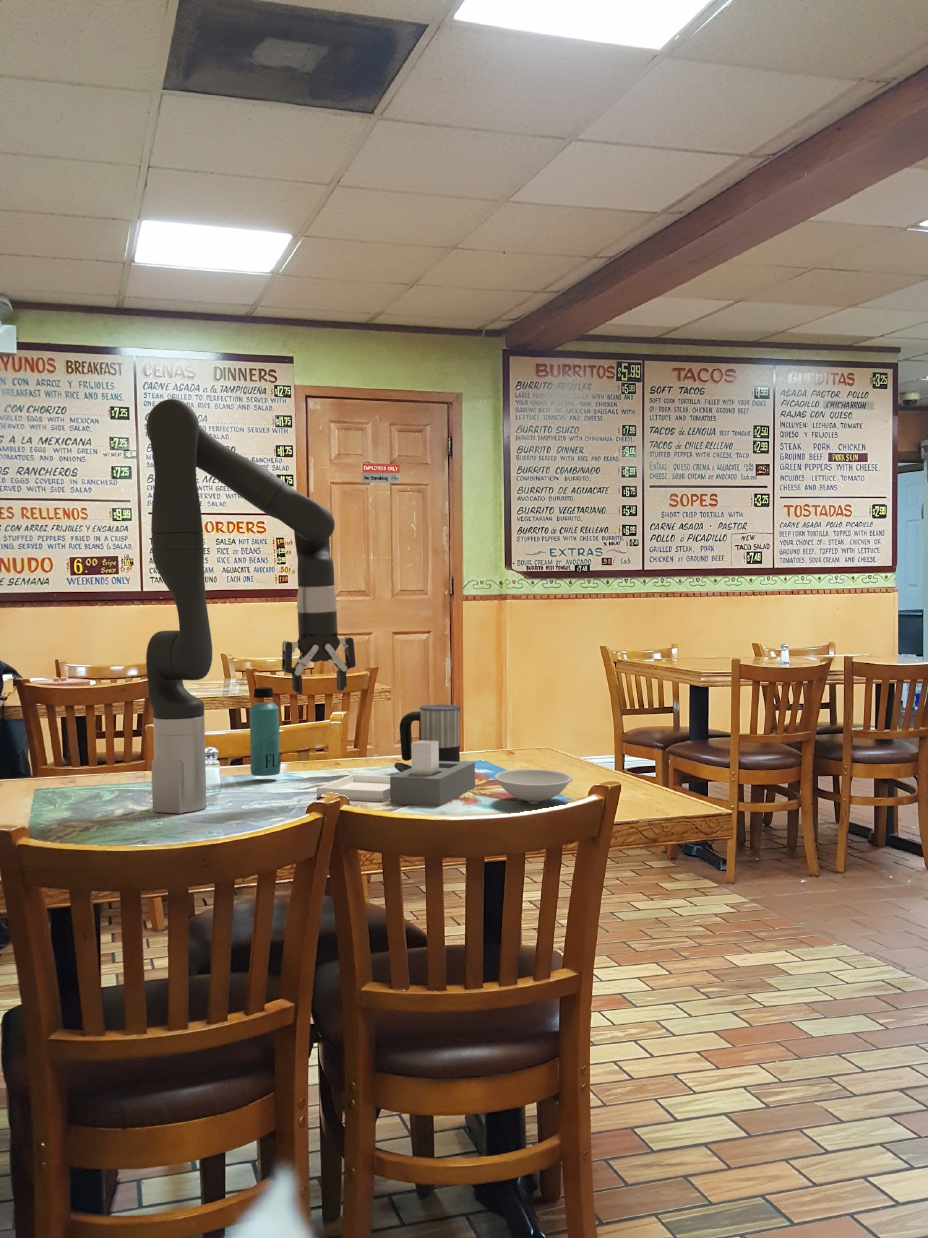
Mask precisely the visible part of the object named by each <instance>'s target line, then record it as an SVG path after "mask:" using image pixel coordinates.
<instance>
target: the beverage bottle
mask: <svg viewBox="0 0 928 1238" xmlns="http://www.w3.org/2000/svg"><path fill="white" fill-rule="evenodd" d="M253 698H255V699H267V698H274V690H273V687H269V686H261V687H255V688H254V689H253ZM279 709H280V707H279V706H278V705H276V703H274V702H256V703H253V704H252V705H251V706H250V707H249V735H250V738H249V739H250V742H249V756H250V759H249V762H250V774H251V776H255V777H269V776H276V775H277V776H278V775H279V774H280V772H281V764H282V762H281V743H280V739H281V738H280V735H281V732H280V728H281V727H280V725H281V724H280V718H279V717H280V715H279V714H280V713H279V711H280V710H279Z"/></svg>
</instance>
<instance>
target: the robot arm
mask: <svg viewBox="0 0 928 1238" xmlns="http://www.w3.org/2000/svg"><path fill="white" fill-rule="evenodd" d="M199 422H200V421H199V419H198V416H197V414H196V412H195V411H194V409H193V408H192V407H191V406H190V405H189V404H188V403H186V402H184V401H182V400H180V399H175V398H169V399H165V400H162V401H160V402H159V403H157V404H156V405H154V406H153V407H152V409H151V410H150V412H149V414H148V416H147V419H146V425H145V426H146V427H145V429H146V434H147V437H148V439H149V441H150V446H151V451H152V453H151V455H152V460H153V462H152V463H153V470H154V485H153V486H154V488H153V497H152V504H151V506H152V507H151V528H150V529H151V530H150V531H151V533H150V535H151V553H152V561H153V563H154V566H155V568H156V570H157V572H158V574H159V576H160V578H161V579H162V581H163V583H164V584H165V586H166V588H167V589H168V591H169V592H170V594H171V596H172V598H173V600H174V603H175V606H176V611H177V617H178V624H179V626H178V628H179V630H160V631H157V632H155V633H154V634H153V635H152V636H151V638H150V639H149V641H148V643H147V648H146V655H145V661H146V662H145V663H146V677H147V688H148V689H147V691H148V700H149V704H150V706H151V708H152V709H151V710H152V717H153V718H152V719H153V722H152V726H153V760H152V761H151V792H152V793H151V794H152V795H151V799H152V801H151V802H152V803H151V804H152V812H153V813H166V814H167V813H169V814H183V813H188V812H189V813H190V812H196V811H201V810H203V809H205V808H207V782H206V779H207V778H206V777H207V776H206V775H207V774H206V773H207V772H206V736H205V734H206V733H205V731H206V729H205V705H204V702H203V700H202V699H201V698H199V697H197V696H194V695H193V694H191V693H190V692H189V691H188V690H187V689H186V688H185V685H184V681H200V680H203V679H204V678H205V677H207V675H208V674H209V673H210V671H211V666H212V662H213V643H212V634H211V627H210V619H209V613H208V605H207V597H206V595H207V594H206V584H205V583H206V581H205V565H204V564H205V562H204V560H205V558H204V557H205V555H204V553H205V550H204V549H205V548H204V531H203V530H204V529H203V527H204V526H203V520H202V519H203V518H202V509H201V502H200V496H199V490H198V482H197V468H198V469H200V470H201V471H203V472H205V473H206V474H208V475H209V476H210V477H212V478H214V479H216V480H217V481H218V482H220V483H221V484H223V485H224V486H226V487H227V488H228V489H229V490H231V491H233V492H234V493H235V494H236V495H238V496H239V497H241V498H242V499H244V500H245V501H247V502H248V503H250V504H251V505H252V506H254V507H255V508H257V509H258V510H260V511H261V512H263V513H265V514H266V515H268V516H270V517H272V518H274V519H276V520H279V521H281V522H282V523H283V524H285V525H286V526H287V527H289V528H290V529H291V530H293V531H294V533H293V534H294V542H295V543H294V544H295V550H296V556H297V598H296V599H297V600H296V602H297V603H296V609H297V629H298V630H297V631H298V638H297V641H288V640H283V642H282V643H281V644H282V645H281V648H282V650H281V651H282V652H281V654H282V655H281V657H282V658H281V670H282V671H283V672H284V673H287V674H290V675H291V680H292V681H291V682H292V685H291V686H292V690H293V692H295V695H297V696H300V695H303V675H301V674H302V672H303V671H304V669H305V667H307V666H308V664H310V662H311V663H318V662H328V661H330V663H332V664H333V665H334V667H335V668H336V669H337V671H336V689H337V691H338V692H343V691H344V690H345V688H346V687H347V685H348V684H347V671H348V670H350V669H352V668H355V667H356V655H355V652H356V651H355V644H354V641H355V640H354V638H353V637H350V636H345V637H341V638H339V637H338V613H337V611H338V610H337V609H338V608H337V594H336V589H335V568H334V567H335V566H334V561H333V559H332V555H331V546H330V544H331V543H330V537H331V536H332V534H333V532H334V530H335V525H336V524H335V519H334V516H333V515H332V513H331V512H330V511H329V510H328V509H327V508H326V507H324V506H323V505H322V504H320V503H318V502H317V501H315V500H313V499H311V498H310V497H308V496H306V495H304V494H302V493H301V492H299V491H297V490H296V489H294V488H293V487H292V486H291V485H289V484H288V483H286V482H285V481H284V480H283V479H281V478H280V477H278V476H277V475H276V474H273V473H272V472H271V471H270V470H268V469H266V468H265V467H263V466H262V465H259V464H258V463H256V462H255V461H253V460H250V459H249V458H247V457H246V456H243V455H242V454H239V453H238V452H236V451H234V450H232V449H230V448H229V447H227V446H225V445H224V444H223V443H221V442H219V440H217V439H216V438H214V437H213V436H212V435H211V434H210V433H208V432H207V431H206V430H205V429H204V428H203V427H202V426H201V425H199V424H200V423H199ZM340 645H341V648H342V649H343V650H344V660H345V662H344V661H343V659H342V658H341V657H340V656H339V654H338V653H337V652H336V651H338V648H339V646H340ZM296 649H298V650H299V652H300V655H299V656H298V657H297V659H296V661H295V664H294V666H293V653H295V651H296Z"/></svg>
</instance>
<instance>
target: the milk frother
mask: <svg viewBox="0 0 928 1238" xmlns="http://www.w3.org/2000/svg"><path fill="white" fill-rule="evenodd" d="M418 708H419V710H420V711H411V712H409V713H407V714H405V715H404V716H402V718H401V720H400V722H399V737H400V738H399V740H400V751H401V759H402V760H403V761H405V762H407V761H412V754H411V743H413V738H412V737H413V736H412V735H413V734H412V723H413V722H416V721H418V722H419V723H418V741H419V740H426V741H438V744H439V761H453V762H461V759H460V758H461V757H460V755H461V754H460V741H461V740H460V739H461V738H460V735H461V734H460V728H461V727H460V710H461V709H462V706H460V705H457V704H423V705H420V706H419V707H418ZM393 767H394V768H395V770H397V771H398V772H399V773H400V772H403V771H405V770H407V769H410V768H412V765H409V764H406V763H403V762H395V763H394V765H393Z"/></svg>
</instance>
